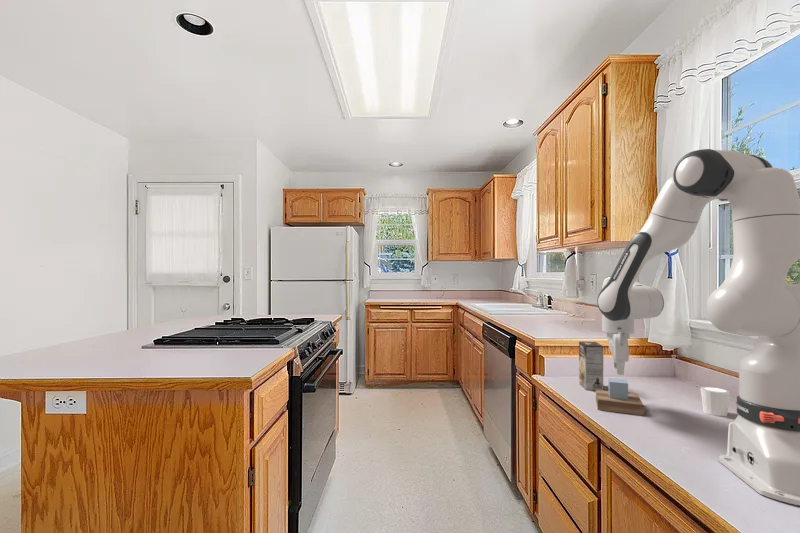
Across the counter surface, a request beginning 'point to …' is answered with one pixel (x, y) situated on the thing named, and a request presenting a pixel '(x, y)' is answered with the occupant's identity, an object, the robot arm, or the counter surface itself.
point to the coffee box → (591, 365)
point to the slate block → (618, 388)
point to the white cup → (715, 401)
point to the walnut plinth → (619, 403)
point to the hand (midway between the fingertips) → (618, 371)
